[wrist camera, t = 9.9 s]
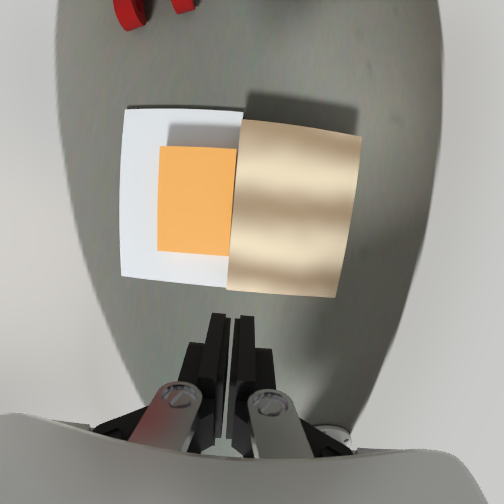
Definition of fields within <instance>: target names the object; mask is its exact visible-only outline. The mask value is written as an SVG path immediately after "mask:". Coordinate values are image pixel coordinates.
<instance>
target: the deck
mask: <svg viewBox="0 0 504 504" xmlns="http://www.w3.org/2000/svg"><path fill="white" fill-rule="evenodd" d="M361 146H362V137H359V136H354V135H349V134H344V133H339V132H334V131H328V130H323V129H317V128H310V127H304V126H297V125H290V124H282V123H274V122H266V121H256V120H246V119H242V122H241V131H240V141H239V151H238V161H237V171H236V181H235V192H234V203H233V214H232V226H231V237H230V249H229V262H228V274H227V287H226V290H236V291H248V292H260V293H272V294H285V295H299V296H314V297H330V298H335V296H336V292H337V288H338V283H339V278H340V274H341V269H342V264H343V259H344V254H345V249H346V244H347V239H348V233H349V228H350V222H351V216H352V210H353V204H354V198H355V191H356V184H357V177H358V170H359V162H360V154H361Z"/></svg>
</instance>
